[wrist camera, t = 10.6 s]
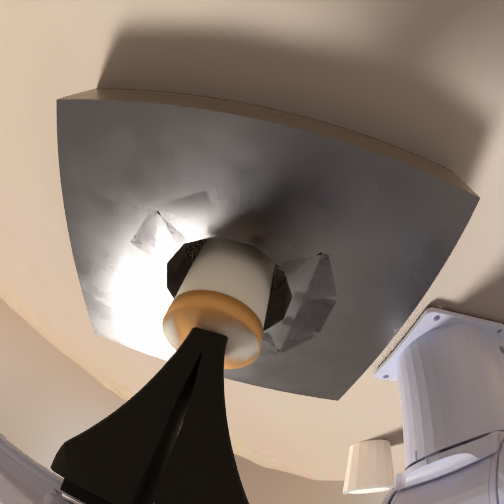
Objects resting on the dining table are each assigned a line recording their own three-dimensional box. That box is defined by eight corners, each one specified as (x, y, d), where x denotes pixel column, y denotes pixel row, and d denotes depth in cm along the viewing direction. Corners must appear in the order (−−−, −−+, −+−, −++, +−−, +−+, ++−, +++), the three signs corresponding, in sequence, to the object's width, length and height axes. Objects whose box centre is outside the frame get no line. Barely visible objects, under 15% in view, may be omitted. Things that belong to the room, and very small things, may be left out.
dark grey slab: (451, 170, 11) (480, 197, 9) (337, 366, 21) (337, 400, 18) (95, 88, 12) (56, 99, 9) (113, 305, 21) (95, 333, 19)
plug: (286, 234, 15) (272, 323, 10) (266, 290, 18) (248, 377, 13) (208, 212, 15) (161, 290, 10) (199, 271, 18) (162, 351, 13)
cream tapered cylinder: (335, 450, 33) (331, 494, 27) (366, 435, 29) (364, 486, 23) (372, 454, 33) (371, 495, 28) (404, 439, 29) (405, 485, 24)
